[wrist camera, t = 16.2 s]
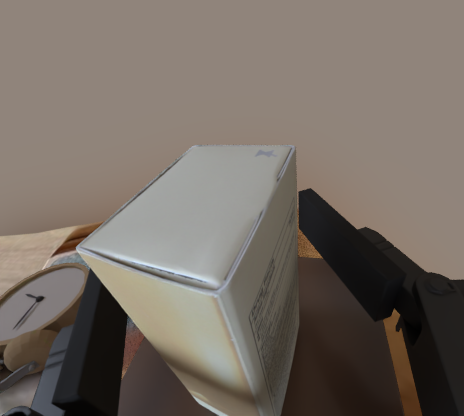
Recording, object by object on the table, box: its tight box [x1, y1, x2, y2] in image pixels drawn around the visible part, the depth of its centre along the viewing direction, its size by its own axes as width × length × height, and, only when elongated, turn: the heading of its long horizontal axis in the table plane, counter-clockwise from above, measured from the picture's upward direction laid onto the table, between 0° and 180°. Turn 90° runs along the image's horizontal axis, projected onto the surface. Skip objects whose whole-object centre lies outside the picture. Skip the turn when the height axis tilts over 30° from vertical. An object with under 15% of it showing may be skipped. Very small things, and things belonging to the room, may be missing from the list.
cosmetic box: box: [76, 145, 299, 416], centre depth 11 cm, size 6×4×12 cm
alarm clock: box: [0, 263, 89, 393], centre depth 27 cm, size 11×5×15 cm
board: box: [118, 257, 405, 416], centre depth 15 cm, size 15×17×2 cm
